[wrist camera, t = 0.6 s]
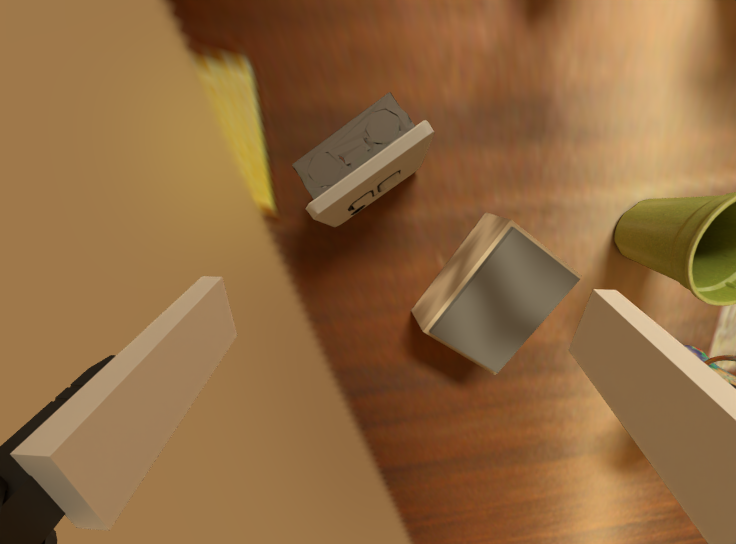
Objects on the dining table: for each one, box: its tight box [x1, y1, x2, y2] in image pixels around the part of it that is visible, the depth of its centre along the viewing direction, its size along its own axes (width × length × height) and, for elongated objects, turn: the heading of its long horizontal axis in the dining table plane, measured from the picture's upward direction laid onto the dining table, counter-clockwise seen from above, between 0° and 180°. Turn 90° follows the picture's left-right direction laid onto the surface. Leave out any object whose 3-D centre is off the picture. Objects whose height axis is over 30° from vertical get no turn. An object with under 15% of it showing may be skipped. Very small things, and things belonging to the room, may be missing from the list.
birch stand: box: [411, 213, 582, 375], centre depth 30 cm, size 12×9×5 cm
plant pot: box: [615, 192, 736, 306], centre depth 28 cm, size 9×9×9 cm
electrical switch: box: [292, 92, 434, 227], centre depth 23 cm, size 9×5×9 cm, turn 124°
